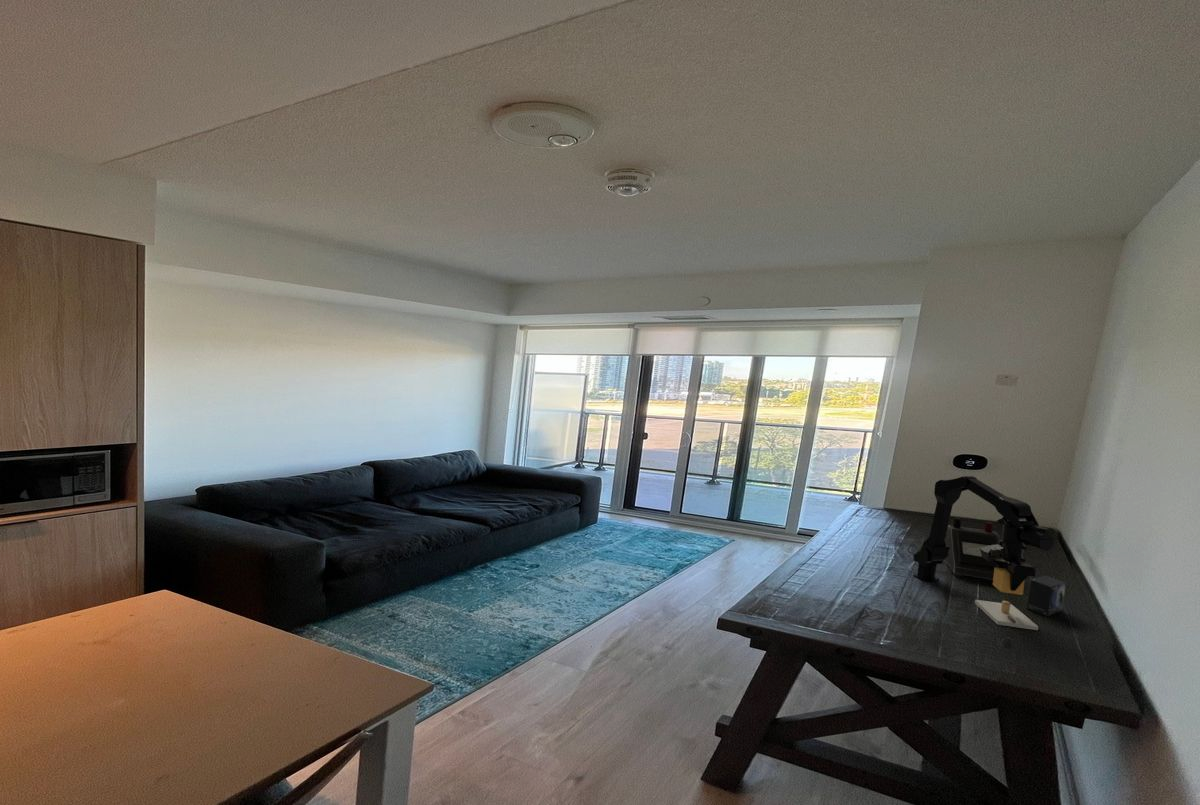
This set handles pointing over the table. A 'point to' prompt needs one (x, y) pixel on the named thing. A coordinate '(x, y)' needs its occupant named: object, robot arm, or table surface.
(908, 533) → the table surface
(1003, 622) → the plate
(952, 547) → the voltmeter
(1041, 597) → the small box
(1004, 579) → the mustard yellow cube
